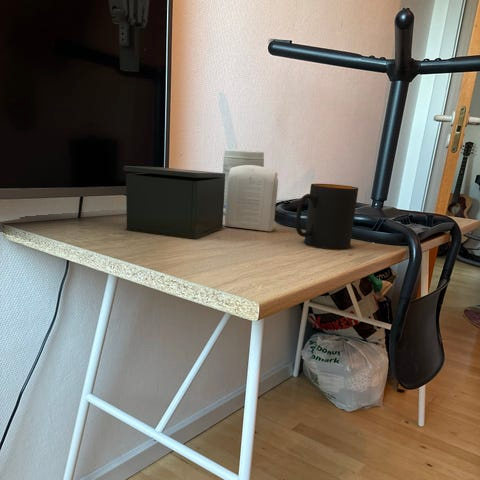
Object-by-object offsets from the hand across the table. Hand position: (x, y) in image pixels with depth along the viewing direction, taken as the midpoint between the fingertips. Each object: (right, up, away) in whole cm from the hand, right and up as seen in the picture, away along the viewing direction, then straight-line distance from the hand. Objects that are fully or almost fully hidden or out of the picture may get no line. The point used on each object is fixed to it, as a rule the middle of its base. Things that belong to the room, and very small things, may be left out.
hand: (129, 70), depth 81 cm
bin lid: (+7, -15, +8) cm, 18 cm away
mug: (+33, -28, +7) cm, 44 cm away
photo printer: (+20, -23, +18) cm, 36 cm away
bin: (+6, -24, +12) cm, 28 cm away
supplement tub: (+19, -16, +37) cm, 44 cm away
